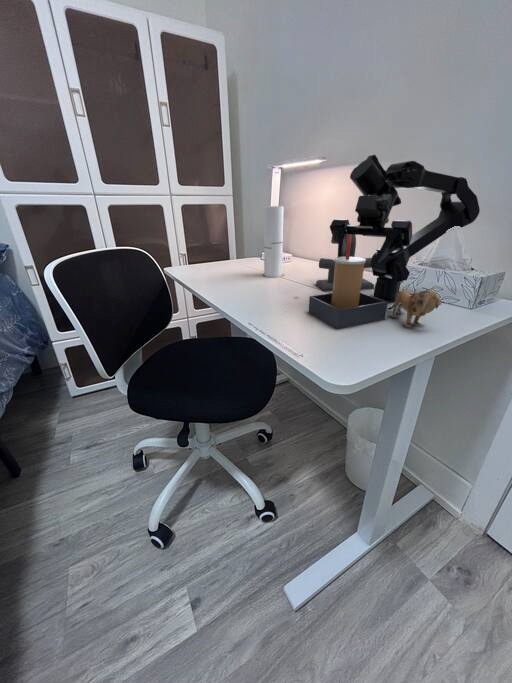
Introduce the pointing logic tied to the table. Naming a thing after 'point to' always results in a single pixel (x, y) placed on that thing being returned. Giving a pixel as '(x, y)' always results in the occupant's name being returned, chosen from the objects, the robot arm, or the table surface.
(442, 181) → the robot arm
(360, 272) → the takeaway cup
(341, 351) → the table surface
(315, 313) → the bin
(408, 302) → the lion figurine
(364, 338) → the table surface
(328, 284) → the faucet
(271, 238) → the cylindrical container
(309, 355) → the table surface
